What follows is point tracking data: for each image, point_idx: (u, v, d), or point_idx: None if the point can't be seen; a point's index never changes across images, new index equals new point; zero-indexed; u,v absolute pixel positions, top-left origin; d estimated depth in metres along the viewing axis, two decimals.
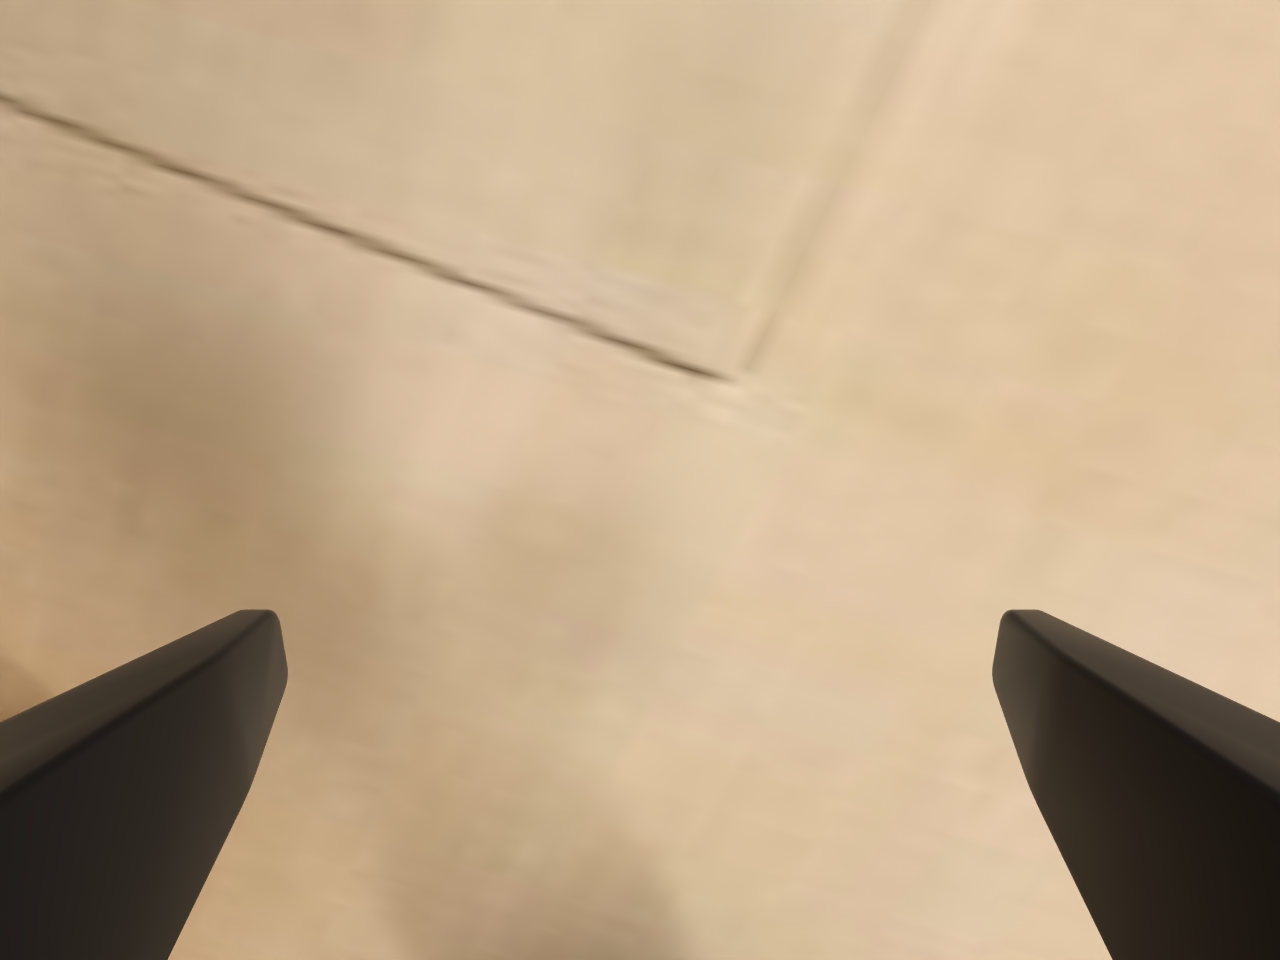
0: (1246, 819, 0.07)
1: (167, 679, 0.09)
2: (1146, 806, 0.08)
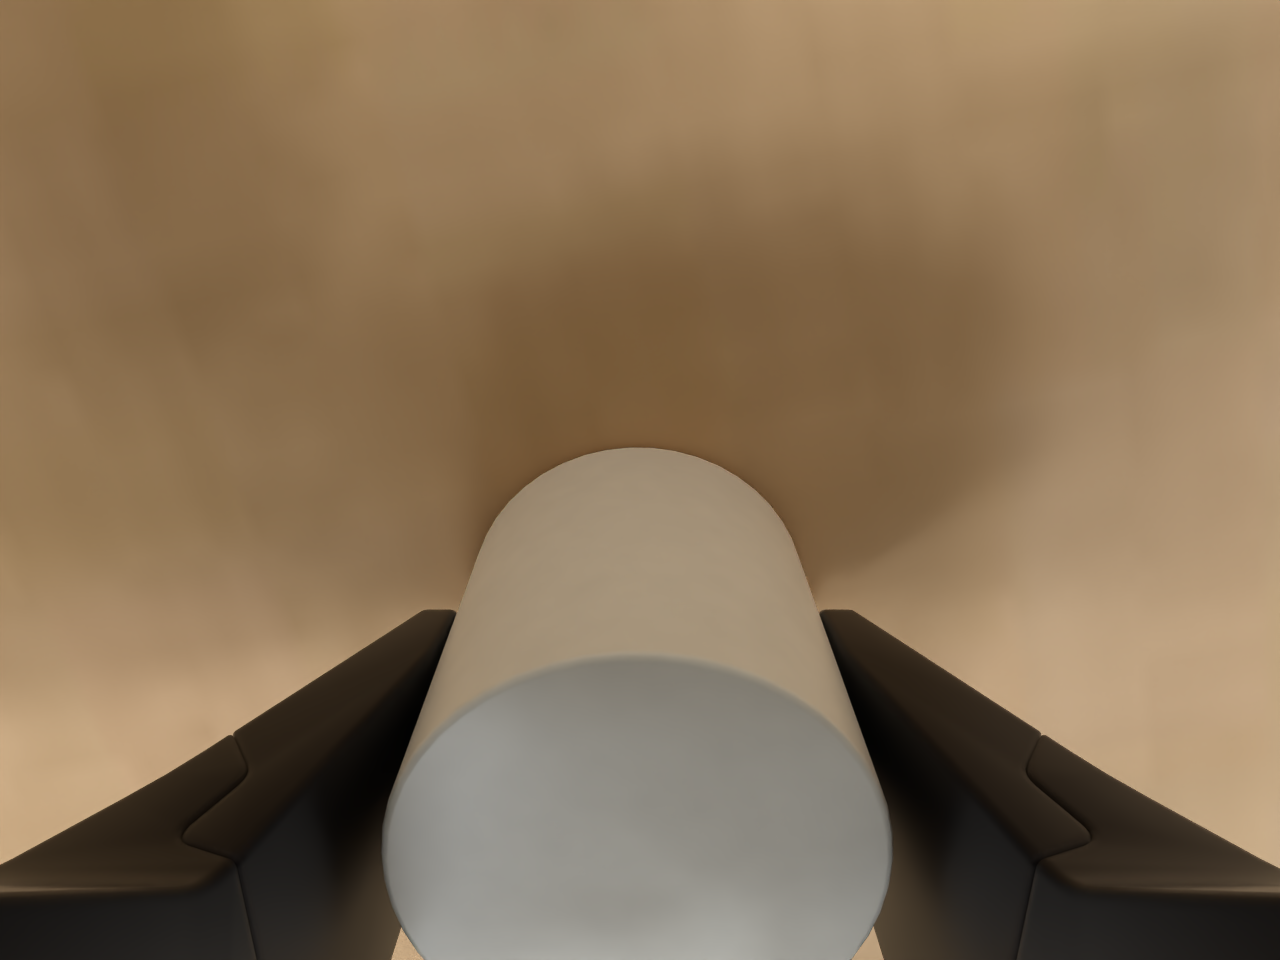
0: (959, 819, 0.07)
1: (391, 679, 0.09)
2: (899, 806, 0.08)
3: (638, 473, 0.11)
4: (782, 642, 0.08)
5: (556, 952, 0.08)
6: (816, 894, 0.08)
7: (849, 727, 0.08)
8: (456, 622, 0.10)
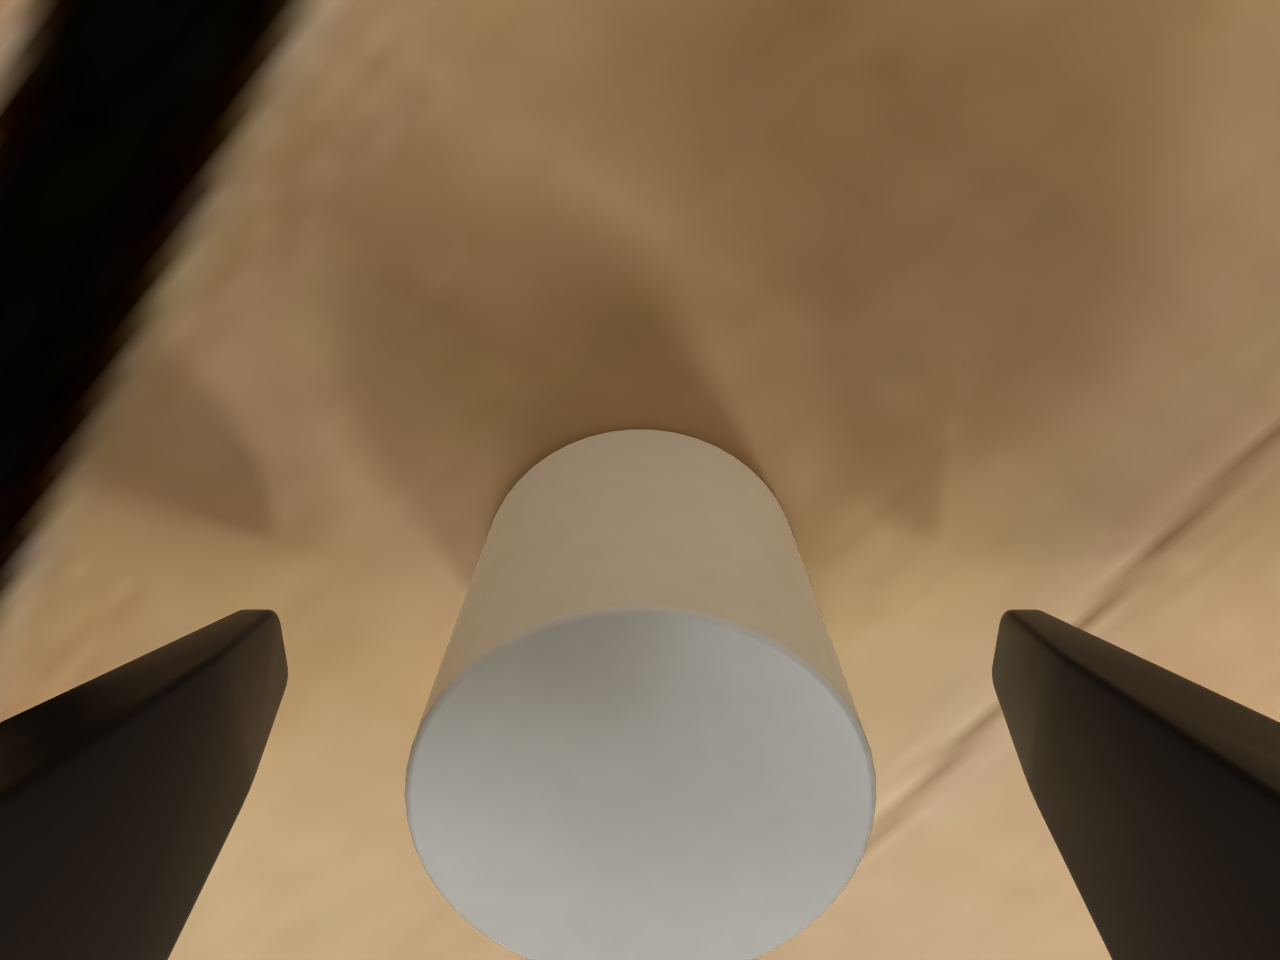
0: (1245, 819, 0.07)
1: (167, 679, 0.09)
2: (1146, 806, 0.08)
3: (640, 452, 0.11)
4: (774, 601, 0.09)
5: (566, 889, 0.09)
6: (805, 834, 0.09)
7: (835, 678, 0.08)
8: (471, 589, 0.10)
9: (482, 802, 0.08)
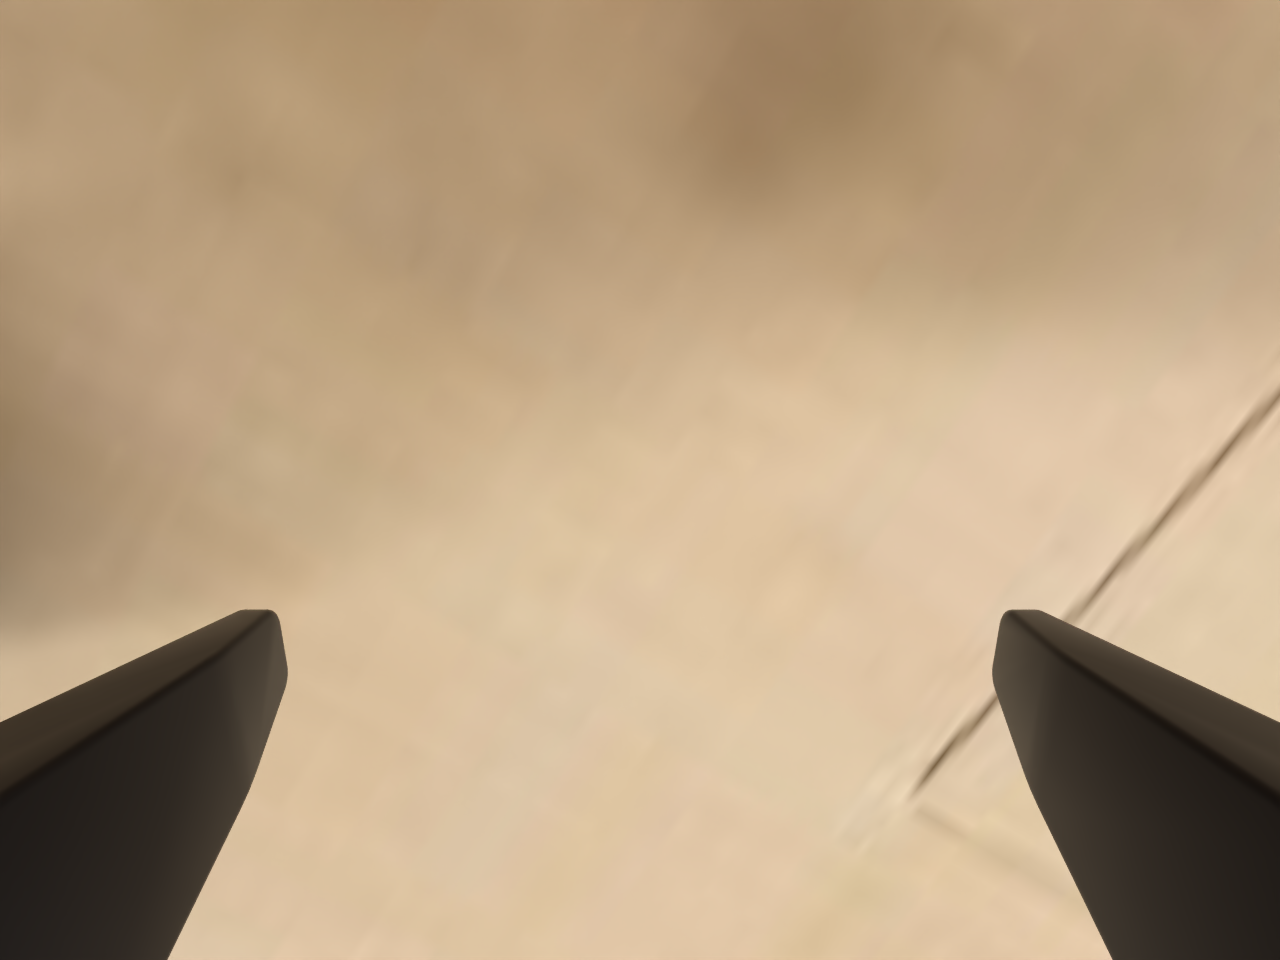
0: (1246, 819, 0.07)
1: (167, 679, 0.09)
2: (1146, 806, 0.08)
3: None
4: None
5: None
6: None
7: None
8: None
9: None
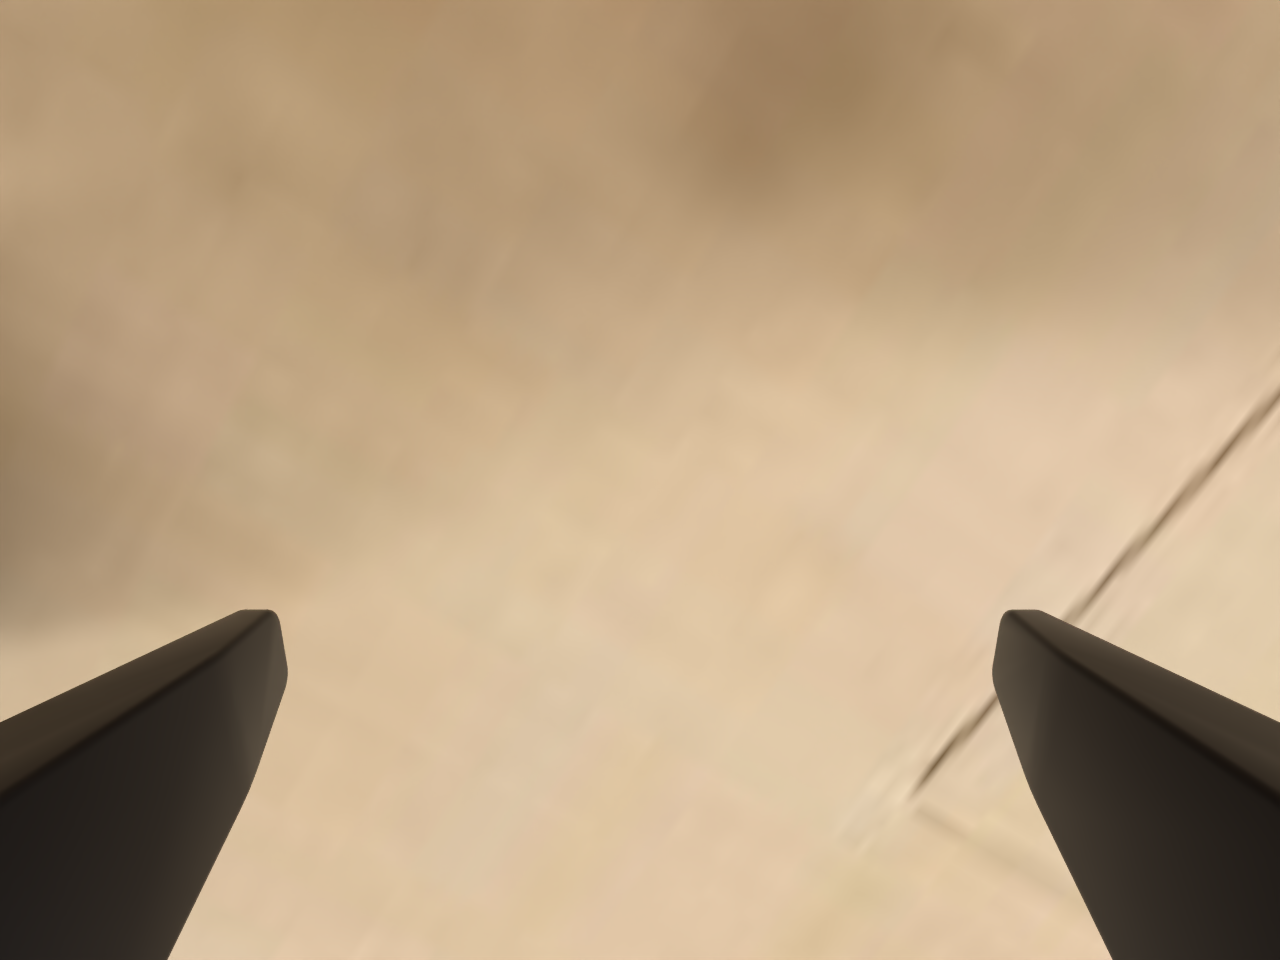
0: (1246, 819, 0.07)
1: (167, 679, 0.09)
2: (1146, 806, 0.08)
3: None
4: None
5: None
6: None
7: None
8: None
9: None
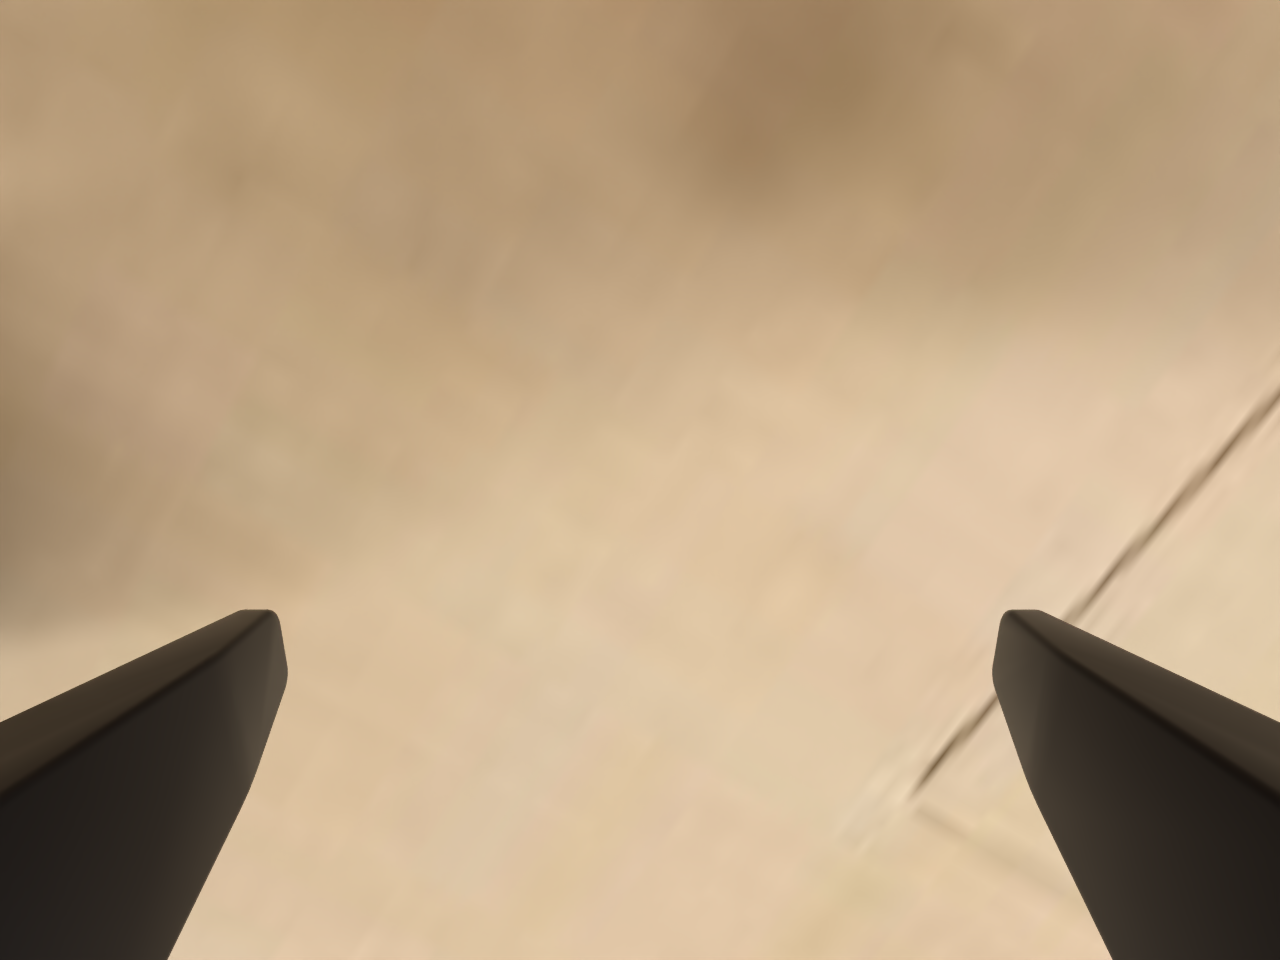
0: (1246, 819, 0.07)
1: (167, 679, 0.09)
2: (1146, 806, 0.08)
3: None
4: None
5: None
6: None
7: None
8: None
9: None
